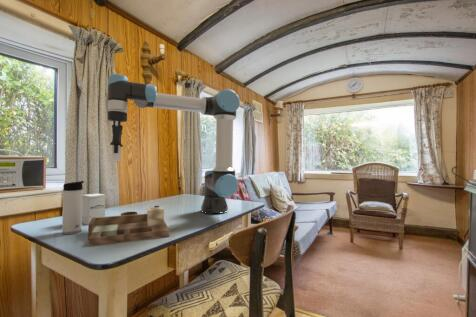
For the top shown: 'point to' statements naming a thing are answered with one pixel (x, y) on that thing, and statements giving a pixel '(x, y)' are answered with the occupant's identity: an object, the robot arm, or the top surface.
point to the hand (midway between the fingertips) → (116, 161)
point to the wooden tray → (123, 229)
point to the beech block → (155, 216)
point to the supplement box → (92, 207)
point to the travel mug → (72, 208)
